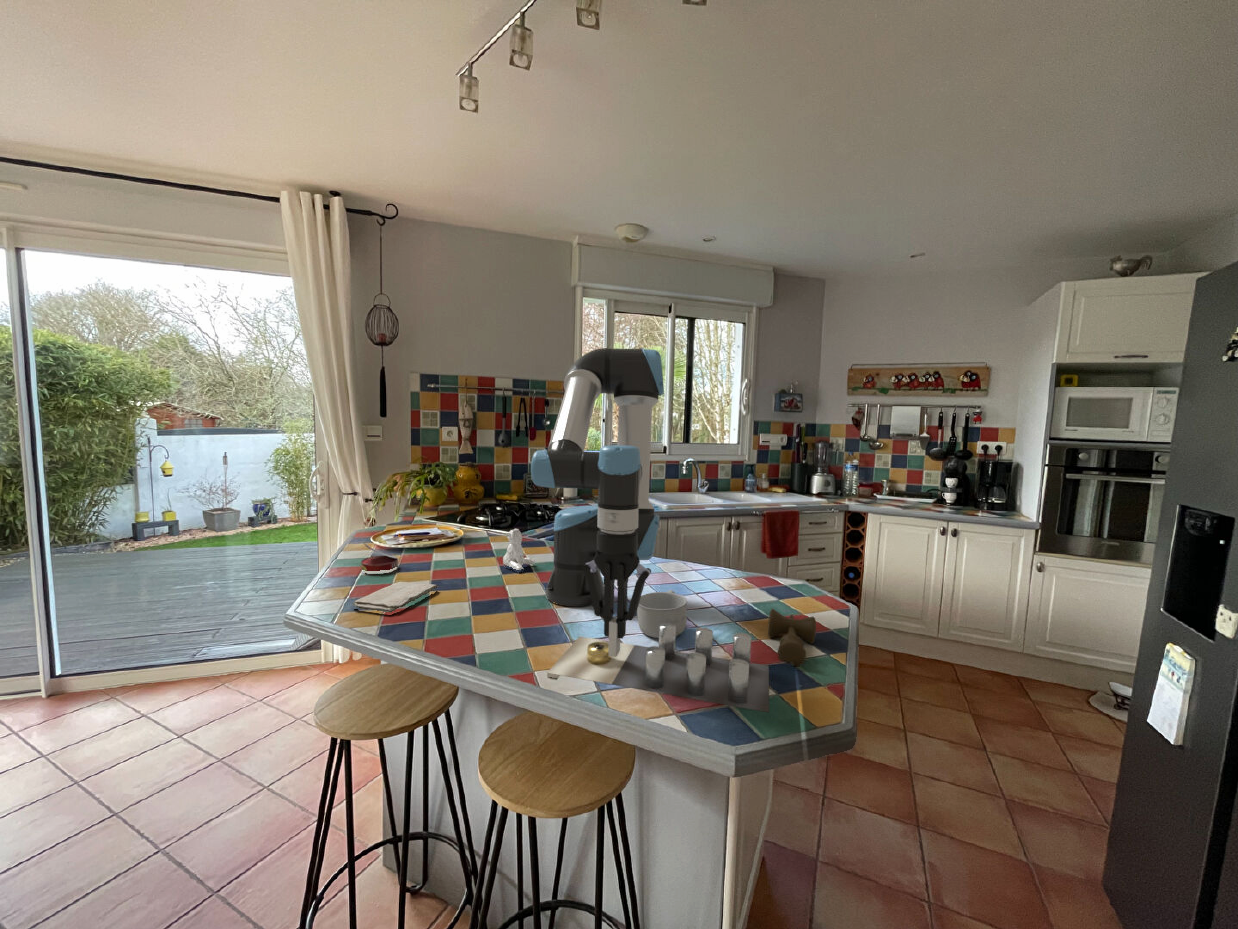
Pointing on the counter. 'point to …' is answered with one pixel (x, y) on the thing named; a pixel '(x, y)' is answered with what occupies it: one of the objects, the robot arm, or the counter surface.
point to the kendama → (792, 636)
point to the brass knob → (598, 653)
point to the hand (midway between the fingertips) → (614, 653)
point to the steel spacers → (700, 662)
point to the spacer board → (632, 672)
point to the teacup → (661, 612)
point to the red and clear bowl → (379, 562)
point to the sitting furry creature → (515, 551)
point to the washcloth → (393, 596)
